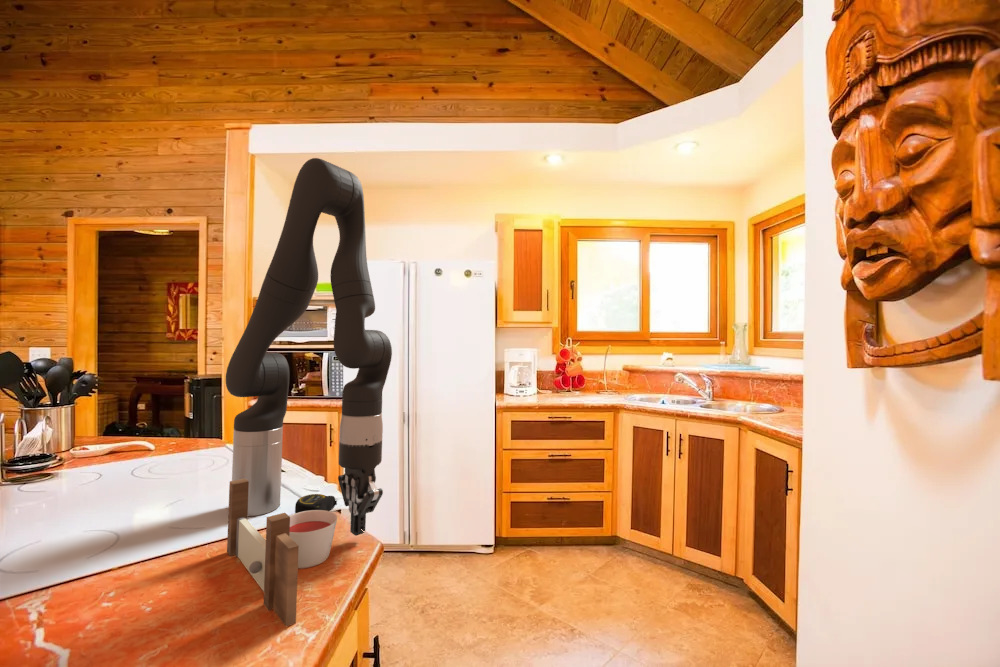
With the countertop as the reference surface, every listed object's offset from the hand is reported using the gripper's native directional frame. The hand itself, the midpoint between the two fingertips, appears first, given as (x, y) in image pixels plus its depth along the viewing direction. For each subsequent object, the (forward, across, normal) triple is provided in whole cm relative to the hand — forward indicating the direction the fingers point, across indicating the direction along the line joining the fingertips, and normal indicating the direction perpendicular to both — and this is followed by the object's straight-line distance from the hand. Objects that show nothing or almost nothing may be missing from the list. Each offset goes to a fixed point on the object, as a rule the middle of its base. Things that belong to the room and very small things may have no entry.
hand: (357, 533), depth 79 cm
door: (+1, -1, -18) cm, 18 cm away
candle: (+2, 0, -9) cm, 9 cm away
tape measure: (+2, -16, -1) cm, 16 cm away
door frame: (+1, +2, -17) cm, 17 cm away
